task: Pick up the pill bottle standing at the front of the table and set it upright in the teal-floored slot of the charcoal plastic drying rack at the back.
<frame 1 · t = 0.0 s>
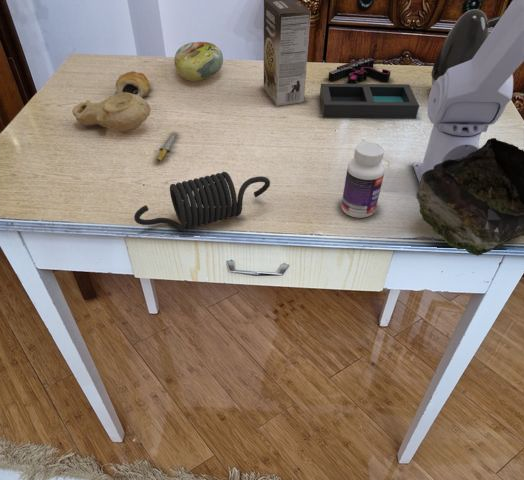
rock: (507, 175, 60), point 10 cm above the table
dagger: (160, 145, 83), point 1 cm above the table
pill bottle: (358, 209, 72), on the table
logo: (345, 67, 106), point 1 cm above the table
coffee box: (283, 96, 98), on the table
oil lamp: (118, 128, 89), on the table
pastry: (134, 93, 99), on the table
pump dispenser: (450, 96, 99), on the table
cell model: (202, 85, 101), on the table
coil: (203, 182, 70), point 4 cm above the table
rack: (366, 106, 95), on the table
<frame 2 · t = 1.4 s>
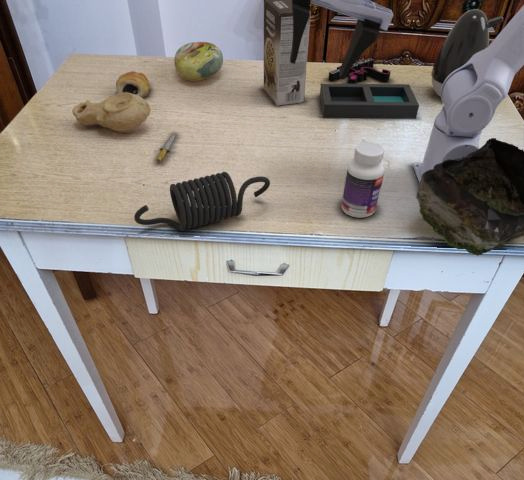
hand: (317, 68, 67), 16 cm above the table, tool tilted 15°, fingers open, 7 cm apart
nothing on the table moved.
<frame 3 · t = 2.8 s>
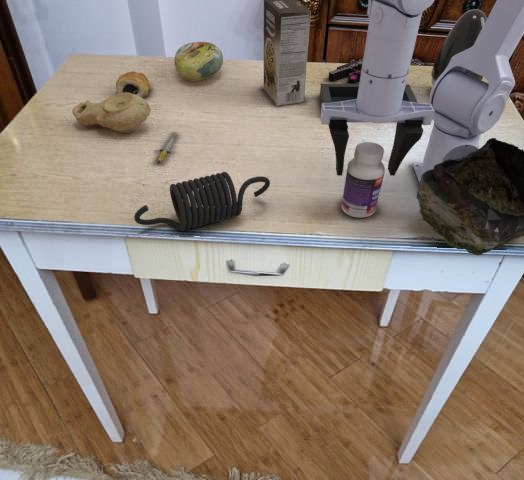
hand: (365, 172, 67), 6 cm above the table, tool pointing down, fingers open, 7 cm apart
nothing on the table moved.
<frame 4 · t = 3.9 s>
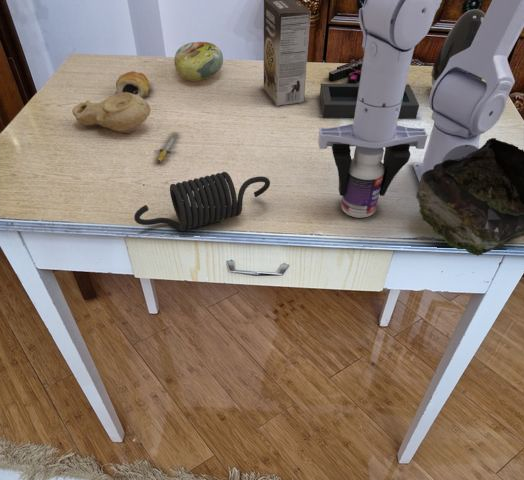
hand: (361, 192, 70), 3 cm above the table, tool pointing down, fingers closed on pill bottle, 5 cm apart
pill bottle: (357, 209, 72), on the table, touching gripper
everything else where it was.
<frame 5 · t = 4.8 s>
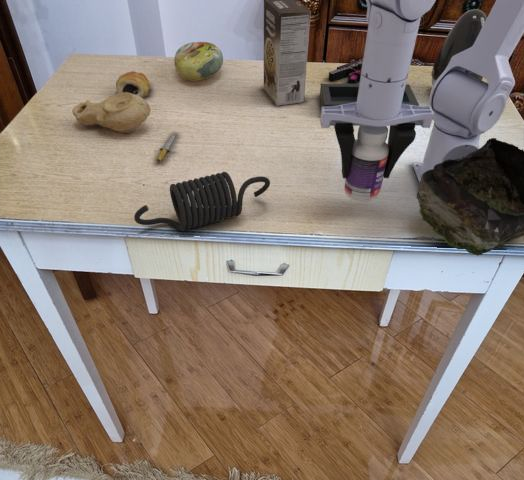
hand: (365, 174, 68), 6 cm above the table, tool pointing down, fingers closed on pill bottle, 5 cm apart
pill bottle: (361, 193, 70), point 3 cm above the table, touching gripper
everything else where it was.
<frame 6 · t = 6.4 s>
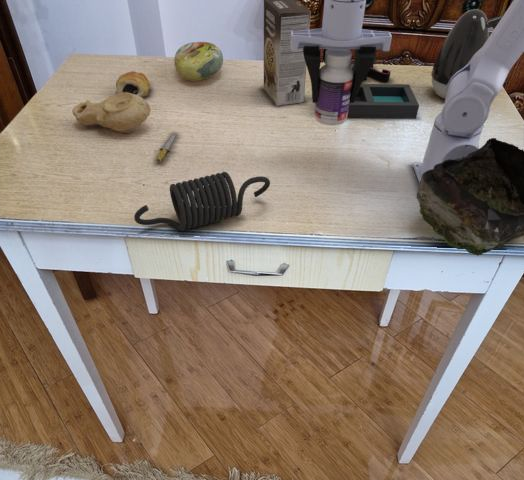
hand: (333, 100, 74), 10 cm above the table, tool pointing down, fingers closed on pill bottle, 5 cm apart
pill bottle: (330, 119, 76), point 7 cm above the table, touching gripper
everything else where it was.
when the fingers open (4 cm above the table, at t = 10.6 s): pill bottle stays where it is, resting on rack.
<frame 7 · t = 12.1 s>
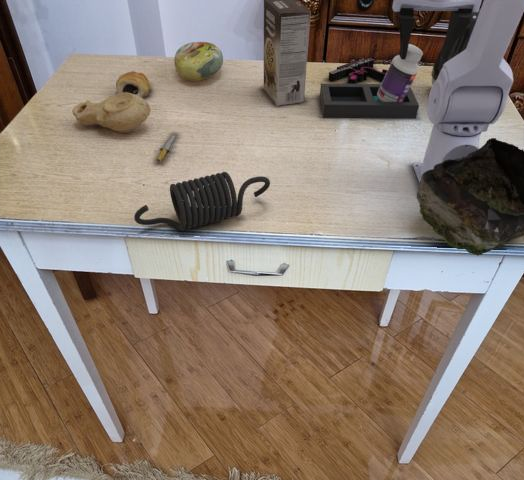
hand: (423, 57, 85), 10 cm above the table, tool pointing down, fingers open, 7 cm apart
pill bottle: (388, 100, 94), point 1 cm above the table, touching rack
everything else where it was.
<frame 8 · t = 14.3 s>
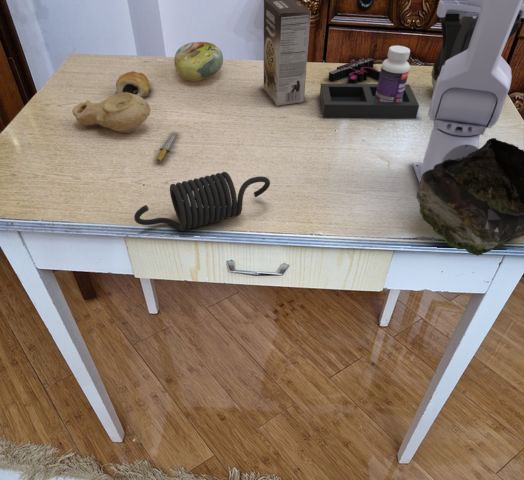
hand: (465, 64, 82), 10 cm above the table, tool pointing down, fingers open, 7 cm apart
at the end: pill bottle 0.0 cm from the target spot in the rack, point 0.6 cm above the rack's base; pill bottle tilted 1° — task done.
